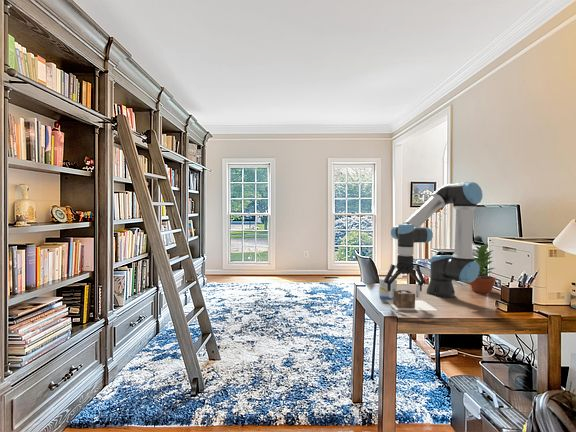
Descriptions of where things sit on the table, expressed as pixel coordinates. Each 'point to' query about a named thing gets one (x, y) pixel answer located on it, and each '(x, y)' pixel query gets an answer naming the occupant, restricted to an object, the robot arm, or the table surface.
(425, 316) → the table surface
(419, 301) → the hub board
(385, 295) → the ink box
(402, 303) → the wooden cubby shelf
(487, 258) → the potted plant
